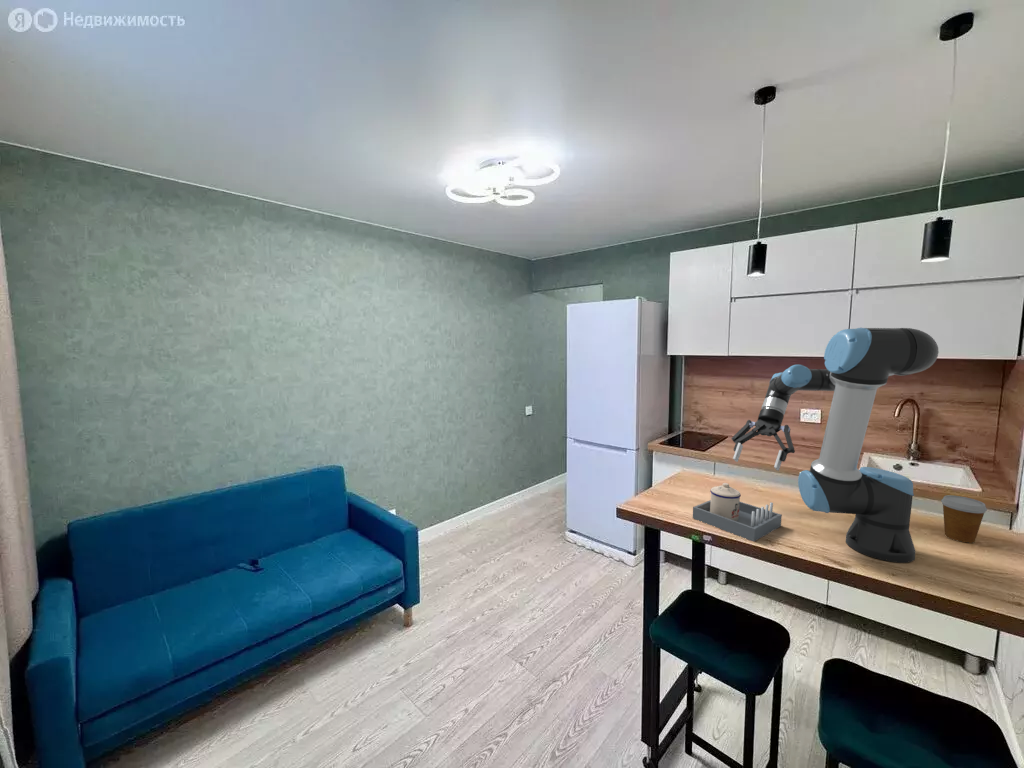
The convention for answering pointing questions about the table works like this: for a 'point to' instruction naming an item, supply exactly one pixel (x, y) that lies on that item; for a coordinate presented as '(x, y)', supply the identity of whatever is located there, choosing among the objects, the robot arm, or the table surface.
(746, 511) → the dish rack
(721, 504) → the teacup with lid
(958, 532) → the disposable coffee cup
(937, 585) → the table surface
